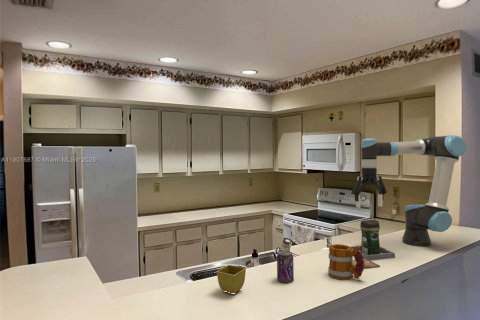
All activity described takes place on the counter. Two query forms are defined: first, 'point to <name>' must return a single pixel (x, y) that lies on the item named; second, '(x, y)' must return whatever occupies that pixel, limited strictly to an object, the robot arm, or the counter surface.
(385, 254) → the grey square shallow frame
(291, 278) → the beverage can
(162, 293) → the counter surface
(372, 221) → the coffee jar
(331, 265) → the mug
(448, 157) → the robot arm
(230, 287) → the flower pot
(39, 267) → the counter surface
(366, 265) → the pad
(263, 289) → the counter surface
